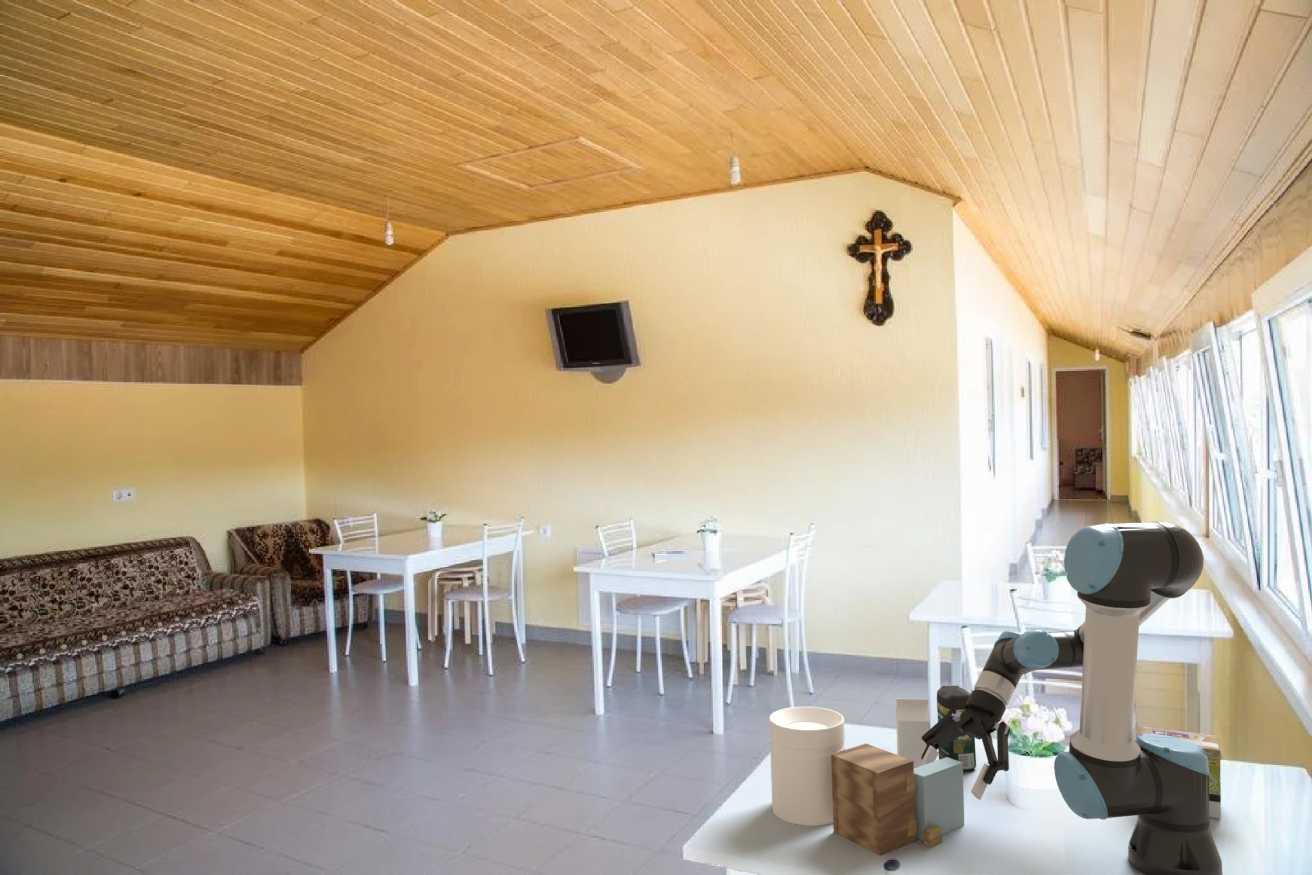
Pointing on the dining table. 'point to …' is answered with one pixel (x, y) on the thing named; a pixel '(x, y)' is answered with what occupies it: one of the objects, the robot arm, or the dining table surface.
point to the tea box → (1213, 754)
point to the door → (939, 796)
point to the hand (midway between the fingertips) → (947, 785)
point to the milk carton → (912, 728)
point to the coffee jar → (965, 745)
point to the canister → (804, 763)
